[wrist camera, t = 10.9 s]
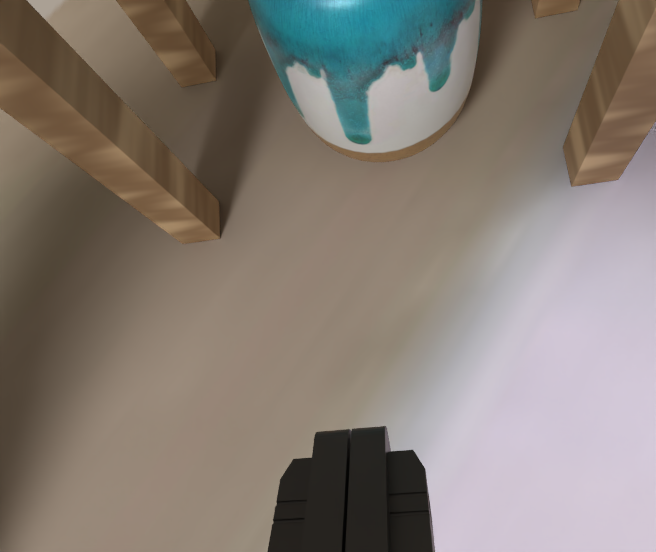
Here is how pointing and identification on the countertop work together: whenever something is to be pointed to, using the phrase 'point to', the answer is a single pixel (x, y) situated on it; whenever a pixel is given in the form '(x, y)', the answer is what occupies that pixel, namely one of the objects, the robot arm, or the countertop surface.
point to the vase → (373, 68)
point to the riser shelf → (200, 67)
